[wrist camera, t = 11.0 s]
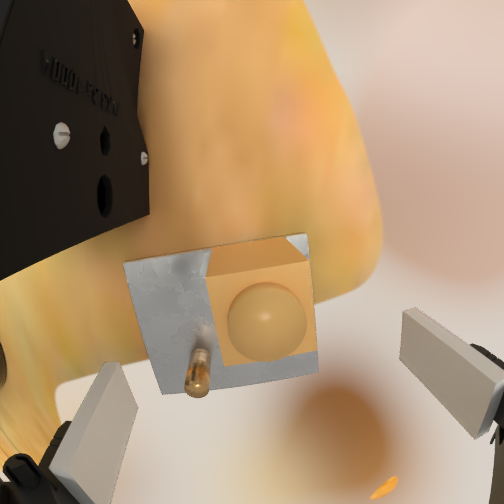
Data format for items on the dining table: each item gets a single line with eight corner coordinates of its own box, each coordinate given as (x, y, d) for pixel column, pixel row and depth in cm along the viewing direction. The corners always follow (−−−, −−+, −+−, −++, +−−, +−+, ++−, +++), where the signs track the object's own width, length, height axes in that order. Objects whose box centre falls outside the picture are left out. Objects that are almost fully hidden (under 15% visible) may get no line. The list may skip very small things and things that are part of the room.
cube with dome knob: (224, 314, 27) (224, 379, 17) (212, 247, 26) (203, 286, 16) (292, 303, 27) (323, 362, 18) (284, 236, 26) (316, 267, 16)
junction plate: (163, 390, 29) (161, 394, 29) (125, 261, 26) (122, 263, 26) (316, 367, 30) (318, 372, 29) (304, 232, 27) (306, 233, 26)
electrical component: (67, 46, 21) (-57, -46, 2) (163, 27, 22) (98, -132, 3) (57, 218, 25) (-118, 275, 6) (157, 213, 26) (4, 287, 6)
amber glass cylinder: (192, 367, 28) (187, 399, 23) (187, 349, 28) (181, 380, 23) (213, 364, 28) (211, 396, 23) (208, 347, 28) (205, 377, 23)
